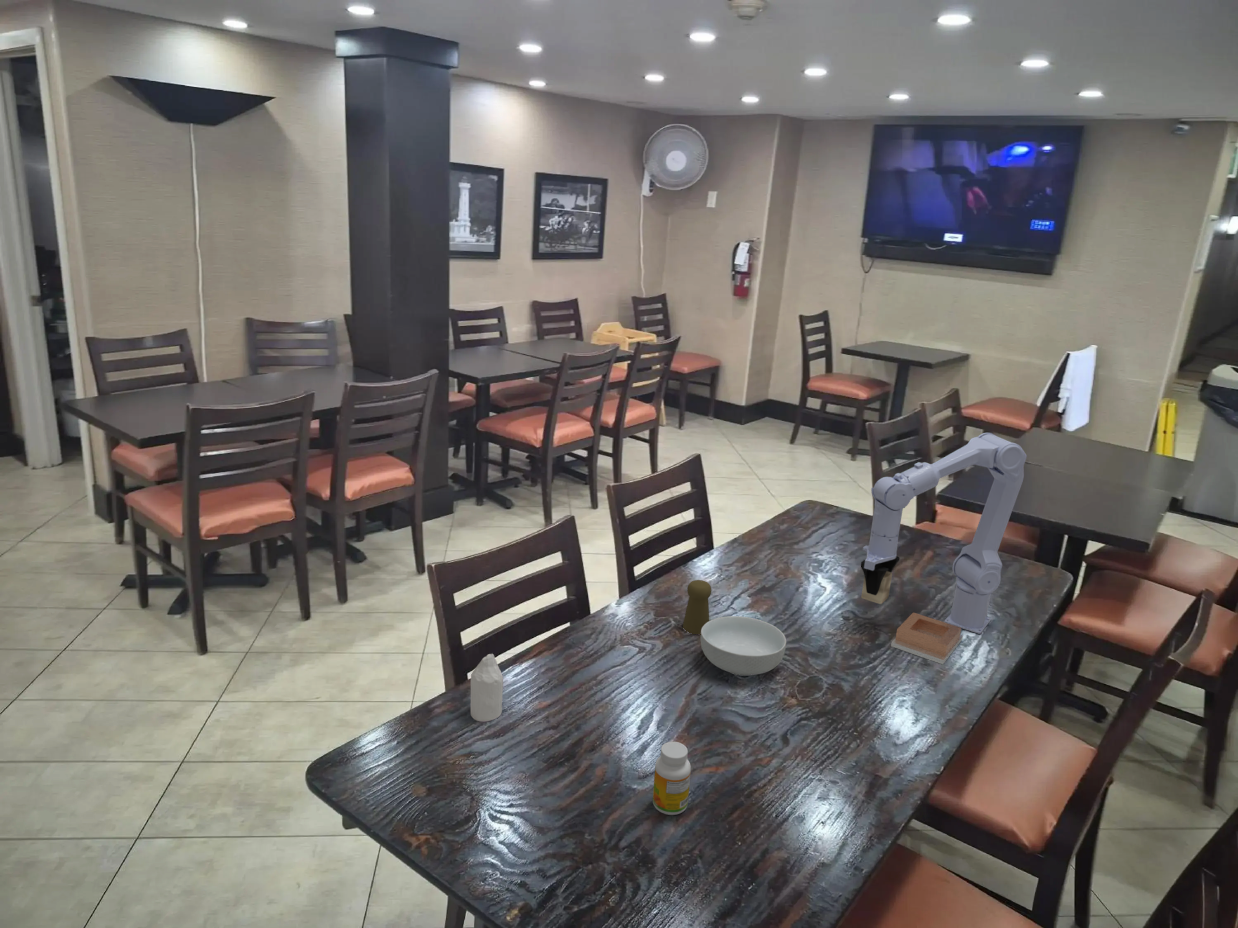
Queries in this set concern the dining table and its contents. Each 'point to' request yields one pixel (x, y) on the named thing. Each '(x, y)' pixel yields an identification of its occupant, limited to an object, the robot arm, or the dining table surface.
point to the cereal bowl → (742, 645)
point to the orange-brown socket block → (927, 638)
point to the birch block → (882, 592)
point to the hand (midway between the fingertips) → (876, 589)
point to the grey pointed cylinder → (486, 690)
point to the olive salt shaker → (697, 606)
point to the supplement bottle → (672, 779)
